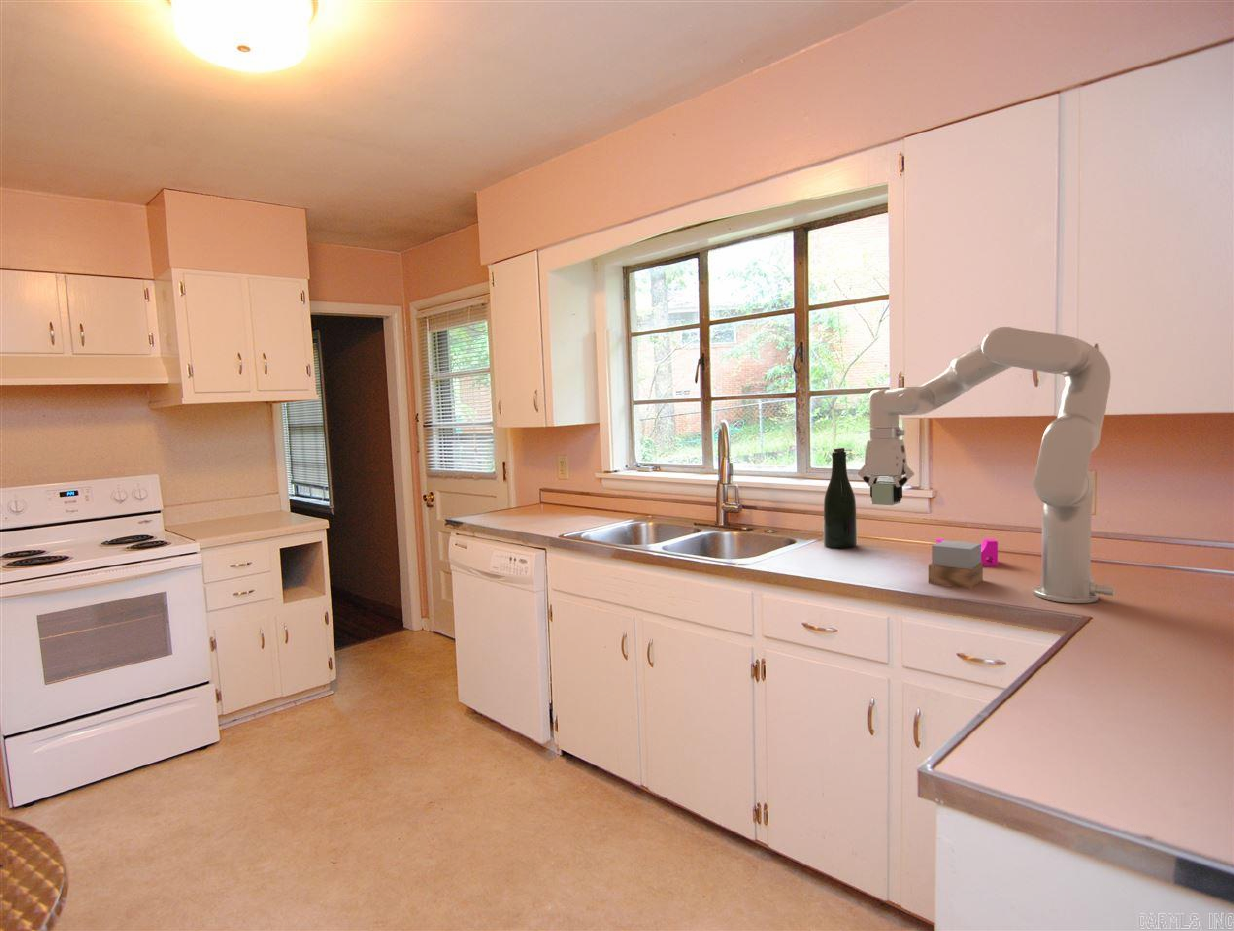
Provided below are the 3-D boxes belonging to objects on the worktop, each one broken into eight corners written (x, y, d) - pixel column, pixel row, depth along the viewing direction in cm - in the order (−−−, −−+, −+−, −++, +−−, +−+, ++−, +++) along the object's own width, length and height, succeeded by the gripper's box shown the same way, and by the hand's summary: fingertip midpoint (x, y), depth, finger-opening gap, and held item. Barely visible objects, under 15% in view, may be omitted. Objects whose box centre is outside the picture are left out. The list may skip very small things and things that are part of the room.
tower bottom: (982, 581, 172) (982, 562, 172) (970, 589, 165) (970, 570, 165) (941, 576, 179) (941, 558, 179) (928, 584, 172) (928, 565, 172)
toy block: (991, 563, 192) (991, 537, 191) (997, 568, 186) (997, 541, 185) (934, 562, 195) (934, 537, 195) (939, 567, 189) (939, 541, 189)
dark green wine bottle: (824, 544, 227) (822, 447, 224) (857, 544, 223) (855, 446, 221) (823, 550, 217) (821, 449, 214) (857, 551, 213) (856, 448, 211)
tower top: (981, 562, 172) (981, 543, 172) (970, 569, 165) (970, 549, 165) (944, 558, 178) (943, 540, 178) (932, 564, 172) (932, 545, 171)
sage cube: (900, 502, 183) (899, 482, 183) (892, 505, 179) (891, 484, 179) (880, 501, 187) (879, 482, 187) (872, 504, 183) (871, 484, 183)
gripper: (922, 433, 179) (923, 500, 180) (859, 435, 191) (861, 497, 192) (911, 434, 173) (912, 504, 174) (848, 436, 185) (849, 500, 186)
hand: (885, 500), depth 183 cm, fingers closed on sage cube, 5 cm apart
